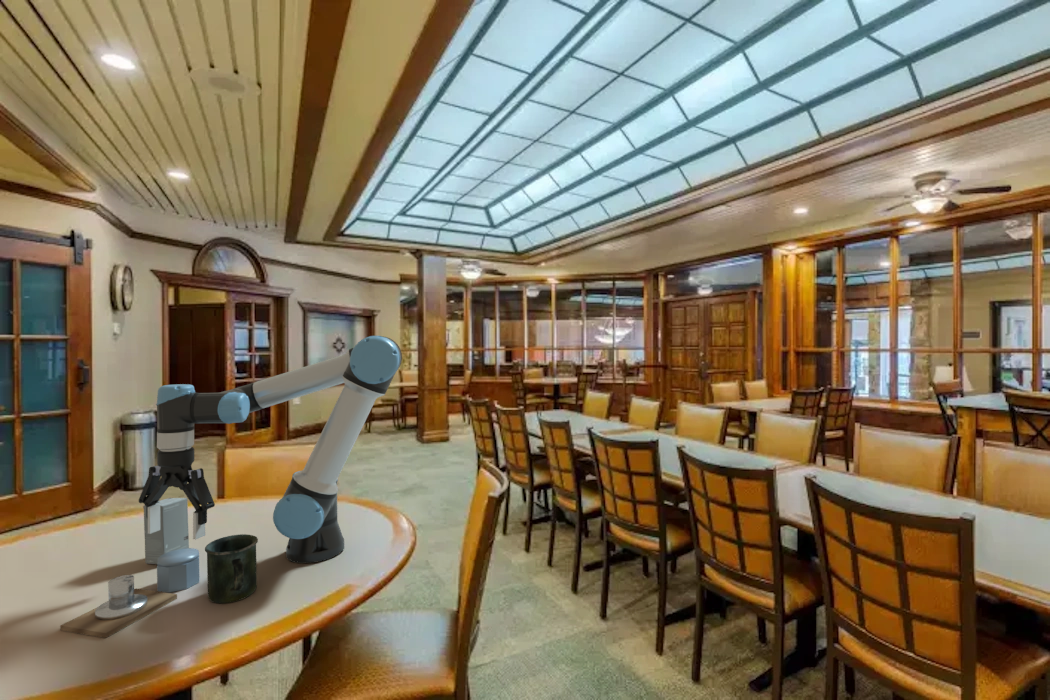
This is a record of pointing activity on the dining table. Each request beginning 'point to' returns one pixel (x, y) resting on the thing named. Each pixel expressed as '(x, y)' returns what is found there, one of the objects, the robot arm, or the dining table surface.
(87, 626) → the base board
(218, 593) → the mug
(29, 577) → the dining table surface
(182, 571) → the cap
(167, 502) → the skincare box
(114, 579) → the stud
